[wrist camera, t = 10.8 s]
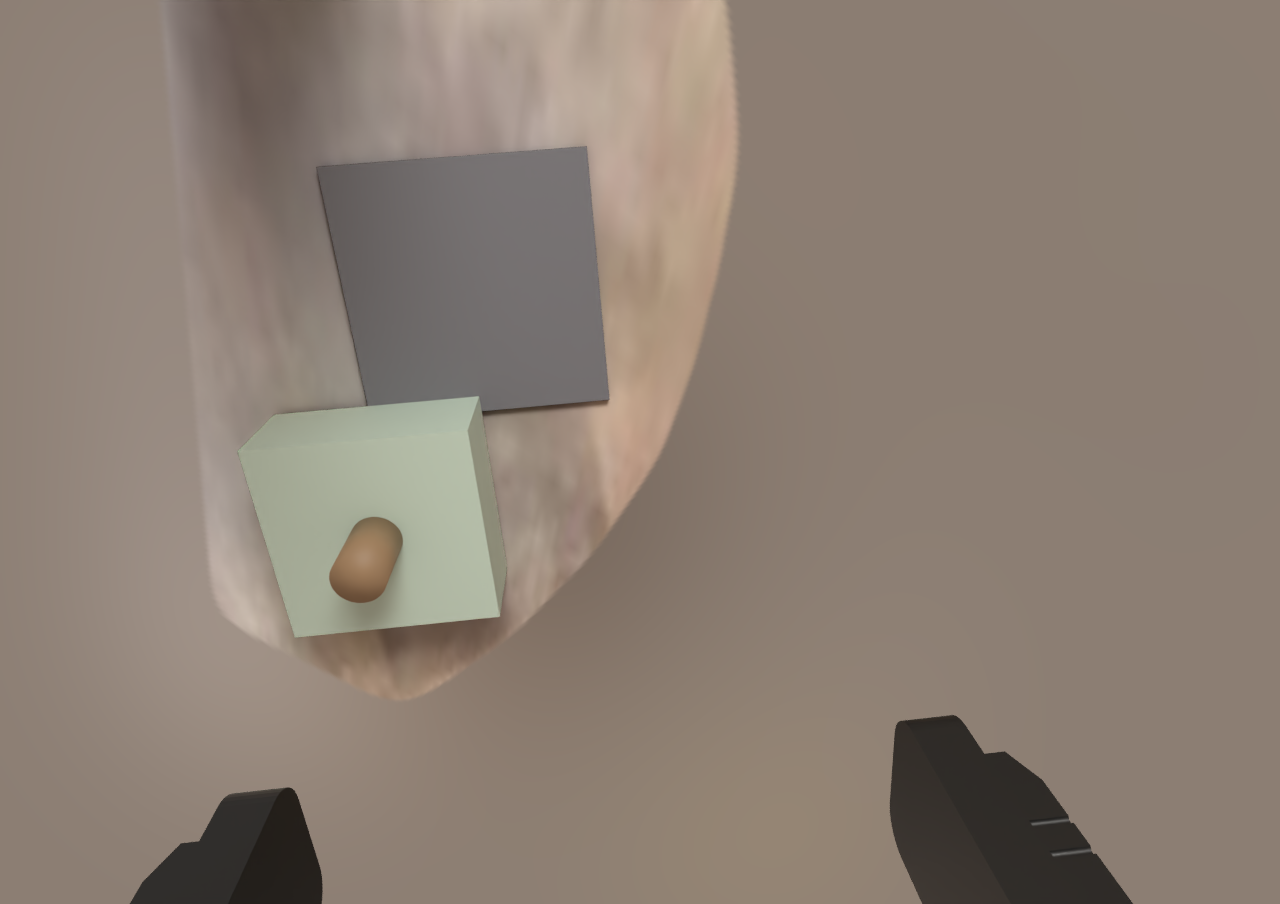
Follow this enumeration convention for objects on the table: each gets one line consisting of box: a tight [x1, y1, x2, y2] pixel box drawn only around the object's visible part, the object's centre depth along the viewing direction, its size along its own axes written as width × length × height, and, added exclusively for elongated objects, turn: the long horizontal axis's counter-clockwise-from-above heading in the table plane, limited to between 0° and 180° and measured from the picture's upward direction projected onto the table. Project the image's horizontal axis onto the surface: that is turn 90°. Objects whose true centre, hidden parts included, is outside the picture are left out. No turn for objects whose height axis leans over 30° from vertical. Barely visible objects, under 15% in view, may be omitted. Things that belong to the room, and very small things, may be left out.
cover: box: [237, 396, 507, 638], centre depth 43 cm, size 12×12×9 cm
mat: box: [317, 146, 609, 411], centre depth 43 cm, size 14×14×1 cm
